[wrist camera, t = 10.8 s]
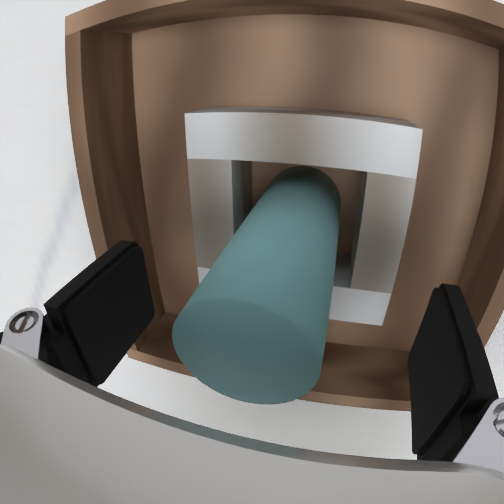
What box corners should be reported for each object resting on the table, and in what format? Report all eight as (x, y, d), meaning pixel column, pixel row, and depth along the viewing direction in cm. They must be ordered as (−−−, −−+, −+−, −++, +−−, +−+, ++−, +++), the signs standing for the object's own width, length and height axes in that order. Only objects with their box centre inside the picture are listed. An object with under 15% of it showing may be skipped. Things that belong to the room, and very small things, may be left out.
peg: (344, 170, 14) (332, 314, 6) (336, 239, 16) (310, 414, 8) (267, 163, 15) (159, 285, 7) (267, 230, 17) (184, 386, 9)
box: (506, 38, 9) (558, 31, 5) (434, 353, 19) (442, 412, 15) (127, 22, 14) (65, 16, 10) (161, 311, 24) (128, 357, 20)
